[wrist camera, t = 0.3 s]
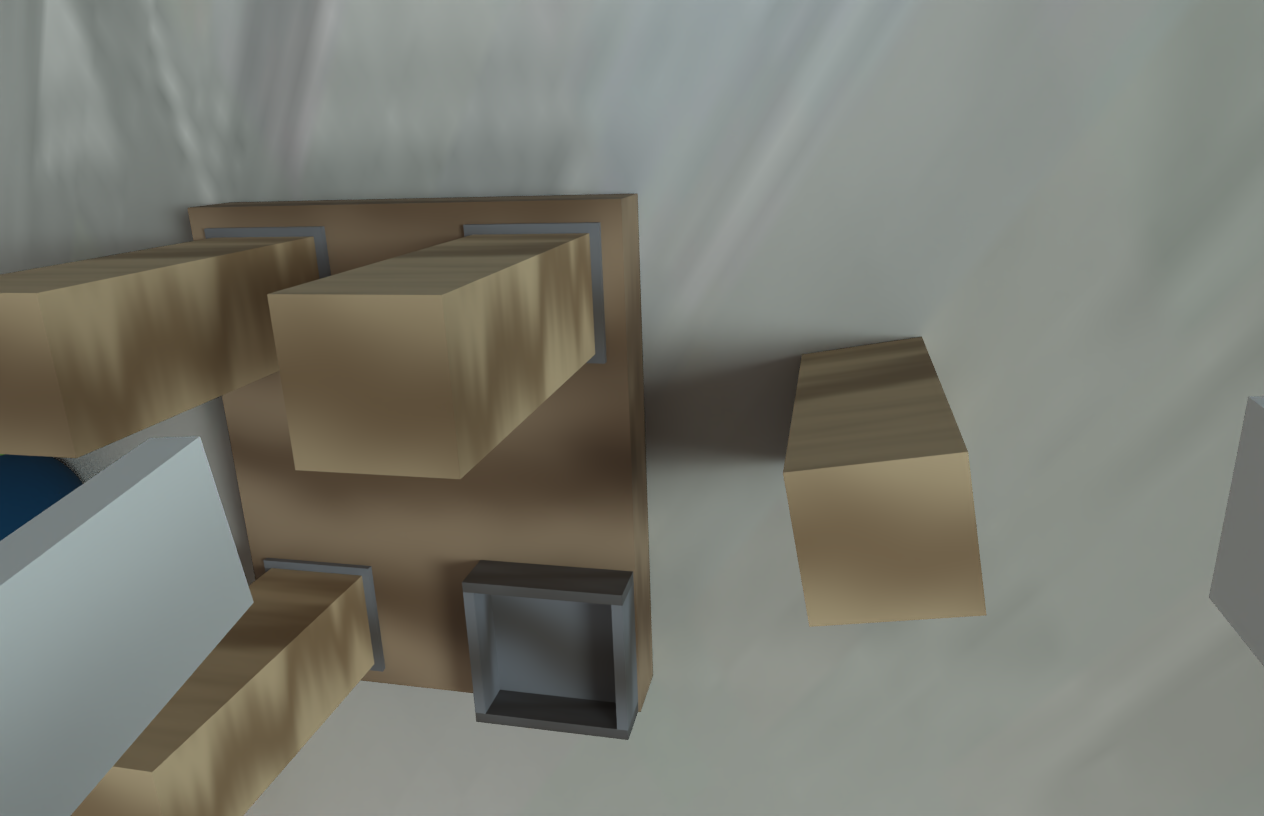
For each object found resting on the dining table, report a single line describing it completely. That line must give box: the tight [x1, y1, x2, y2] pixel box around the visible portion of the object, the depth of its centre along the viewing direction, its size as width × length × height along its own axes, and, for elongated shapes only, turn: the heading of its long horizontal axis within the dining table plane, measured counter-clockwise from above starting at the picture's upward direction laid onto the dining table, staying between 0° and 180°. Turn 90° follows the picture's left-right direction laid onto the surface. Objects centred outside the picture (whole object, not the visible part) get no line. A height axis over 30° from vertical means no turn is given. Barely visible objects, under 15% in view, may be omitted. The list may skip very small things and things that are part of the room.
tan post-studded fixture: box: [0, 194, 653, 816], centre depth 35 cm, size 24×20×17 cm
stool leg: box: [783, 337, 986, 627], centre depth 31 cm, size 5×5×14 cm
